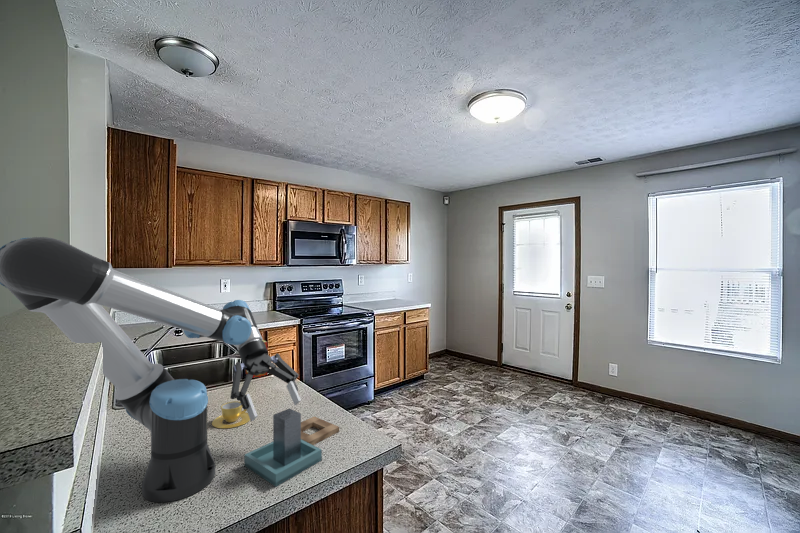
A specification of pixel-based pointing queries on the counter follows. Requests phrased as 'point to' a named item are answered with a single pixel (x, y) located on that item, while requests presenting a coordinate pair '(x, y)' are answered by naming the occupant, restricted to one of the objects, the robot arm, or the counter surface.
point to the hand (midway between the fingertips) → (277, 410)
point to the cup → (231, 415)
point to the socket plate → (325, 431)
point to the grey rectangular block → (286, 436)
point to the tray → (276, 472)
